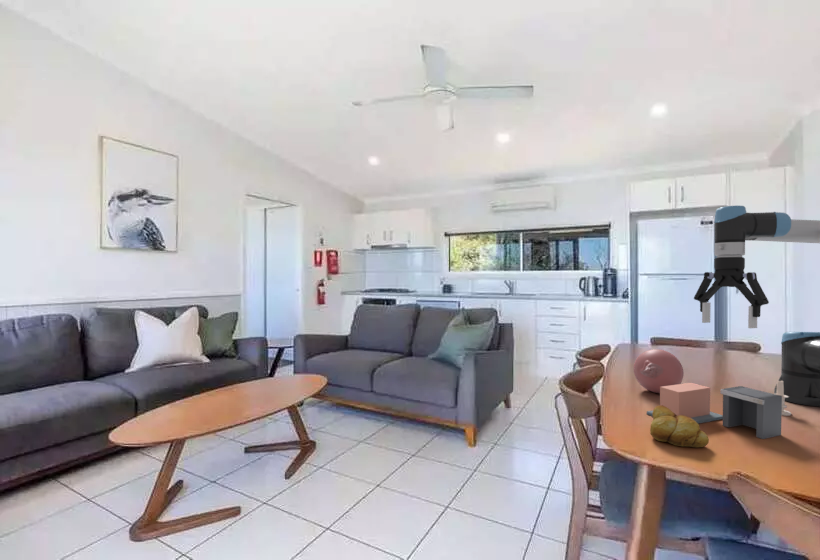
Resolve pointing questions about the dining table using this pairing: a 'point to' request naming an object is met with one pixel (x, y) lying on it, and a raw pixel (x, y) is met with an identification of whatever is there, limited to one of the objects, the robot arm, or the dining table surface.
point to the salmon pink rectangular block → (686, 399)
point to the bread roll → (676, 428)
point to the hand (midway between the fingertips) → (728, 325)
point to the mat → (701, 417)
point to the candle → (781, 392)
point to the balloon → (657, 370)
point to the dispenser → (752, 410)
